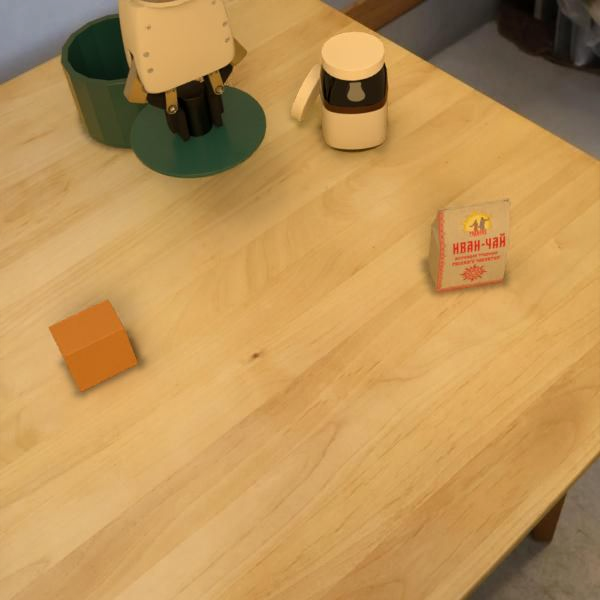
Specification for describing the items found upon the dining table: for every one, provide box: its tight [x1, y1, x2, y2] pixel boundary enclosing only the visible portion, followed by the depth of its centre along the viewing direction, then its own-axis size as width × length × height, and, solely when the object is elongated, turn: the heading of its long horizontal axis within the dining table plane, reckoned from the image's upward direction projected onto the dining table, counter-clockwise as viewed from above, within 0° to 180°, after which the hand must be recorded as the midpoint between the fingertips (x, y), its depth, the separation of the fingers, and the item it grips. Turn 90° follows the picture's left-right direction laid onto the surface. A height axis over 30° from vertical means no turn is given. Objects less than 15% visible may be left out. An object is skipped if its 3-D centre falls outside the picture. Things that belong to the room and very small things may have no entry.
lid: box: [130, 79, 267, 179], centre depth 90 cm, size 15×15×6 cm
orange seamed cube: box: [48, 298, 139, 392], centre depth 81 cm, size 6×4×6 cm, turn 120°
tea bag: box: [427, 198, 512, 293], centre depth 83 cm, size 4×7×10 cm, turn 98°
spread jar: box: [290, 31, 389, 154], centre depth 97 cm, size 12×11×12 cm
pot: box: [60, 12, 149, 149], centre depth 102 cm, size 14×14×10 cm
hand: (197, 125), depth 91 cm, fingers closed on lid, 3 cm apart
